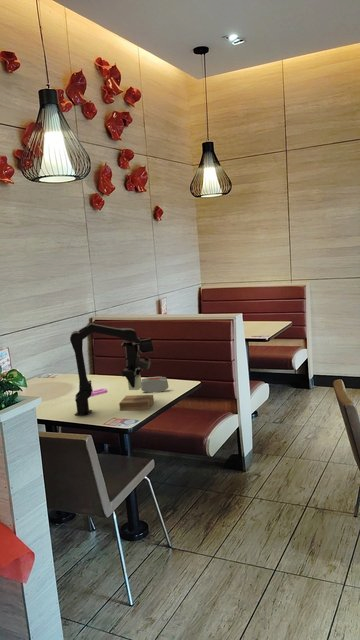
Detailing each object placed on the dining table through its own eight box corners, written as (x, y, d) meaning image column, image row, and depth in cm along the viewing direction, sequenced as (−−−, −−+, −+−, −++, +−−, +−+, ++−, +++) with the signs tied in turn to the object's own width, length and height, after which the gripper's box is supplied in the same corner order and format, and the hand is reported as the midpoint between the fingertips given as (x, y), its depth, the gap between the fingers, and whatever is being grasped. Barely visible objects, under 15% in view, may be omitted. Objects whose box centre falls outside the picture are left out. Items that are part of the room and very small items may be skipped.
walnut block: (148, 410, 244) (147, 402, 243) (120, 411, 246) (119, 403, 246) (153, 402, 255) (153, 394, 255) (126, 403, 258) (126, 395, 257)
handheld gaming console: (168, 390, 273) (167, 375, 272) (168, 391, 270) (167, 377, 269) (141, 392, 274) (140, 377, 273) (141, 393, 271) (139, 379, 270)
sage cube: (138, 389, 246) (137, 377, 245) (128, 390, 247) (127, 378, 247) (141, 386, 251) (140, 375, 250) (131, 387, 252) (130, 375, 251)
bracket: (86, 397, 273) (84, 385, 272) (82, 395, 277) (81, 383, 276) (108, 392, 279) (107, 380, 278) (104, 390, 284) (103, 378, 283)
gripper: (142, 358, 236) (145, 391, 238) (153, 349, 254) (155, 380, 256) (119, 359, 239) (122, 391, 241) (131, 350, 257) (134, 380, 259)
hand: (135, 385), depth 249 cm, fingers closed on sage cube, 5 cm apart
